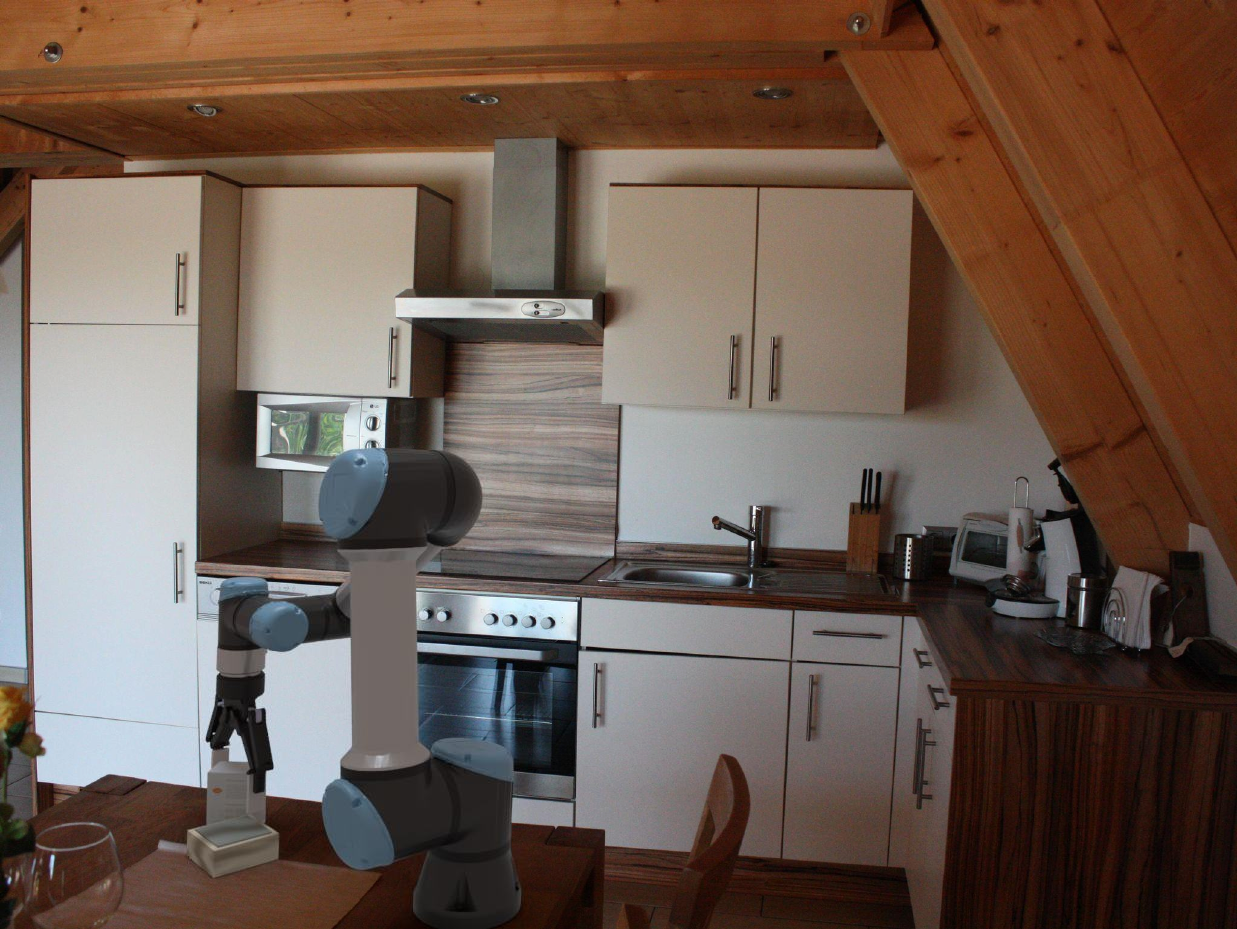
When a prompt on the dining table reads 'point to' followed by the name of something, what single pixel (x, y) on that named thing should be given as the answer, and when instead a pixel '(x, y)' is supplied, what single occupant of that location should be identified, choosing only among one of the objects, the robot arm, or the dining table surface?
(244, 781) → the small box
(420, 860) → the dining table surface
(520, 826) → the dining table surface
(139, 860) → the dining table surface
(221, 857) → the birch stand
